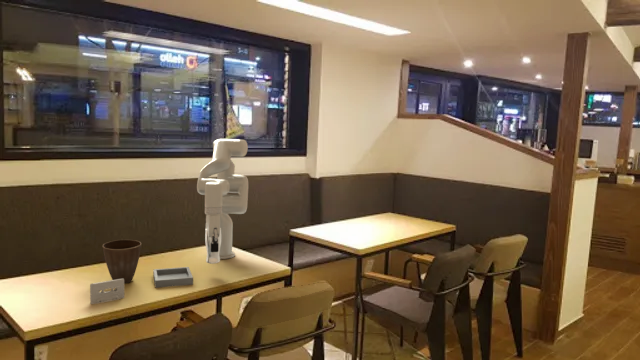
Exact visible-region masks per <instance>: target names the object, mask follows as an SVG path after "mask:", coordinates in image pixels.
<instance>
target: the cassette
mask: <svg viewBox="0 0 640 360" xmlns="http://www.w3.org/2000/svg"><path fill="white" fill-rule="evenodd" d="M105 290H107V291H105ZM108 290H109V291H108ZM89 291H90V292H89V293H90V297H89V299H90V304H91V305H95V304H102V303H107V302H112V301H118V300H120V299H125V284H124V279H123V278H122V279H116V280H112V279H111V280H110V279H109V280H105V281H99V282H94V283H90V284H89Z"/></svg>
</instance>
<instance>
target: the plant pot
mask: <svg viewBox="0 0 640 360" xmlns="http://www.w3.org/2000/svg"><path fill="white" fill-rule="evenodd" d="M141 247H142V242H141V241H139V240H135V239H134V240H133V239H117V240H112V241H111V240H110V241H107V242H105V243H103V244H102V251H103V254H104V255H103V256H104V259H105V264H106V267H107V270H108V273H109V275H110V278H111V280H116V279H122V278H123V279H124V285H125V284H128V283H132V281H133V280H134V277H135V274H136V271H137V267H138V263H139V261H140V260H139V259H140V254H141Z"/></svg>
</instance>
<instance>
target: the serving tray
mask: <svg viewBox="0 0 640 360" xmlns="http://www.w3.org/2000/svg"><path fill="white" fill-rule="evenodd" d="M152 276H153V283H154V286H155V287H154V288H158V289H159V288H167V287H169V288H170V287H178V286H179V287H180V286H190V285H194V277H193V275H192V272H191V269H190V267H189V266H183V267H182V266H181V267H180V266H179V267H170V268H168V267H167V268H155V269H153V275H152Z"/></svg>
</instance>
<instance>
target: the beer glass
mask: <svg viewBox="0 0 640 360" xmlns="http://www.w3.org/2000/svg"><path fill="white" fill-rule="evenodd" d="M218 235H219V234H218ZM212 236H214V234H213V235H212ZM204 237H205V238H204V240H205V243H204V244H205V248H206V260H205V262H206V263H207V264H212V265H215V264H218V263H220V262H221V259H220V257H219V251H220V245H221V228H220V236H219V237H218V252H211V243H212V241H211V237H208V233H207V228H206V227H205V235H204ZM213 239H214V238H213Z"/></svg>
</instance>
